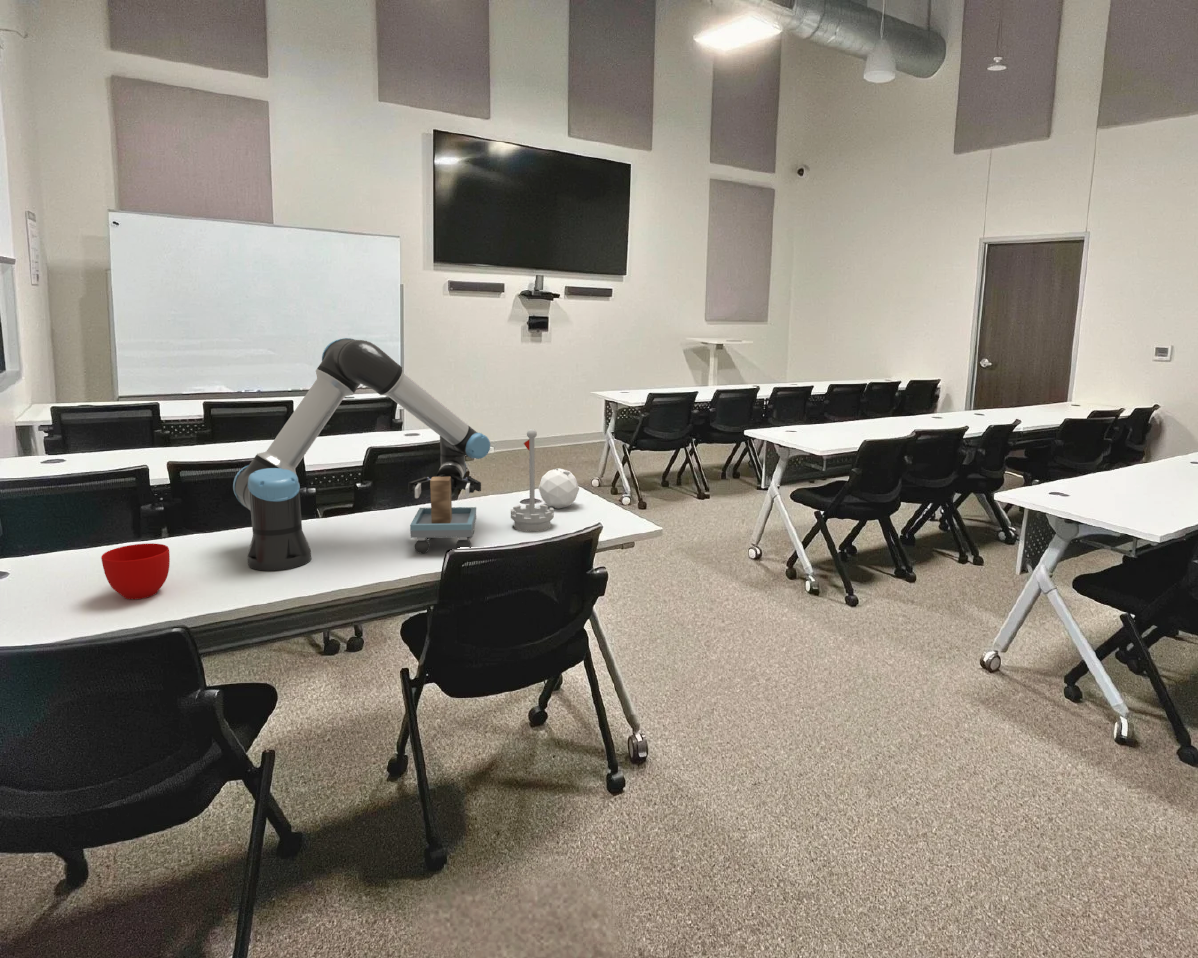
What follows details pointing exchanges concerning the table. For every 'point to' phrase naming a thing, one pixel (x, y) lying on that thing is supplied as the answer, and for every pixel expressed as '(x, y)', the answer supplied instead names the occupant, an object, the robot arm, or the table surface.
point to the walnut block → (441, 500)
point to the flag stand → (532, 500)
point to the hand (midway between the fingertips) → (441, 493)
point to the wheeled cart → (443, 527)
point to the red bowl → (137, 569)
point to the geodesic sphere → (558, 488)
